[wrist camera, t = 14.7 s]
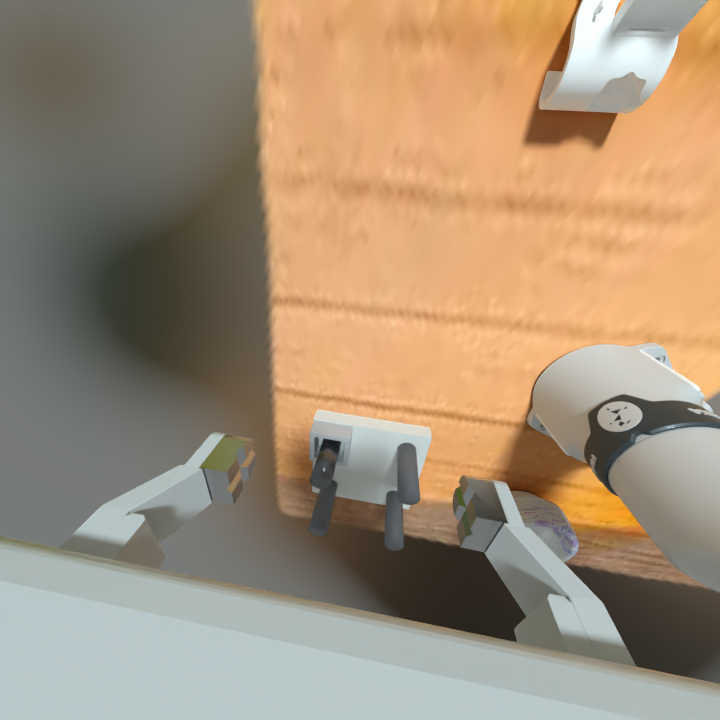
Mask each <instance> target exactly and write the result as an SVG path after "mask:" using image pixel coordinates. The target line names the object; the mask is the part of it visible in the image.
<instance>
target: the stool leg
mask: <svg viewBox="0 0 720 720" xmlns="http://www.w3.org/2000/svg"><path fill="white" fill-rule="evenodd" d="M341 442H342V441H336V440H330V439H324V438H323V441H322V444H321V447H320V450H319V453H318V456H317V459H316V462H315V465H314V468H313V471H312V474H311V477H310V483H311V484H312V485H313V486H314V487H316V488H318V489H327V488H329V487H330V486H331V483H332V479H333V475H334V471H335V467H336V462H337V458H338V454H339V450H340V446H341Z"/></svg>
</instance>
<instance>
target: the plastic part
mask: <svg viewBox="0 0 720 720" xmlns="http://www.w3.org/2000/svg"><path fill="white" fill-rule="evenodd" d="M707 1H708V0H626V1H625V2H624V4H623V5H622V7H621V8H620V10H619V11H618V13H617V14H616V16H615V17H614V15H615V11H616V9H617V6H618V4H619V2H620V0H582V1H581V4H580V6H579V8H578V10H577V13H576V15H575V18H574V21H573V24H572V28H571V37H570V46H569V52H568V56H567V59H566V62H565V65H564V68H563V71H547V74H546V77H545V81H544V84H543V87H542V91H541V94H540V98H539V109H541V110H563V111H585V112H607V113H630V112H633V111H634V110H636V109H637V108H639V107H640V106H641V105H642V104H643V103H644V102H645V101H646V100H647V99H648V98H649V96H650V95H651V94H652V93H653V91H654V90H655V89H656V87H657V86H658V84H659V83H660V81H661V79H662V78H663V76H664V74H665V72H666V70H667V69H668V66H669V64H670V62H671V60H672V58H673V55H674V53H675V50H676V47H677V43H678V35H679V33H680V32H681V31H682V30H683V28H684V27H685V26H686V25H687V24H688V23H689V22H690V20H691V19H692V18H693V17H694V16H695V15H696V14H697V13H698V11H699V10H700V9H701V8H702V7H703V6H704V5H705V3H706V2H707Z"/></svg>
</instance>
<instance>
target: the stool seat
mask: <svg viewBox="0 0 720 720" xmlns="http://www.w3.org/2000/svg"><path fill="white" fill-rule="evenodd" d="M323 438H324V439H330V440H336V441H342V442H341V446H340V450H339V454H338V458H337V462H336V467H335V471H334V475H333V479H332V483H331V486H330V487H329V488H327V489H318V488H316V487H314V486H313V485H312V492H315V493H319V494H318V498H317V501H316V505H315V508H314V512H313V516H312V519H311V523H310V526H309V531H310V533H312V534H313V535H316V536H325V535H326V534H327V531H328V526H329V522H330V518H331V513H332V509H333V504H334V500H335V496H337V497H343V498H348V499H354V500H359V501H365V502H370V503H376V504H381V505H386V515H385V540H384V541H385V542H384V545H385V547H386V548H388V549H390V550H394V551H397V550H401V549H403V546H404V545H403V544H404V543H403V509H409V508H410V505H413V504H416V503H418V502H419V500H420V492H419V477H420V473H421V470H422V467H423V464H424V461H425V458H426V455H427V452H428V449H429V445H430V442H431V439H432V436H431V429H430V428H429V427H423V426H417V425H411V424H405V423H398V422H392V421H386V420H380V419H374V418H368V417H361V416H355V415H349V414H343V413H337V412H331V411H324V410H317V412H316V415H315V417H314V423H313V426H312V428H311V431H310V461H313V468H314V465H315V462H316V459H317V456H318V453H319V450H320V447H321V444H322V441H323Z"/></svg>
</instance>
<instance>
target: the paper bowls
mask: <svg viewBox="0 0 720 720" xmlns="http://www.w3.org/2000/svg"><path fill="white" fill-rule="evenodd" d="M510 492H511V494H512V497H513V499H514V501H515V504H516V506H517V509H518V511H519V513H520V516H521V518H522V521H523V523H524V526H525V527H528V528H530V529H531V530H532V531H533V532H534V533H535V534H536V535H537V536H538V537H539V538H540V539H541V540H542V541H543V542H544V543H545V544H546V545H547V546H548V547H549V548H550V549H551V550H552V551H553V552H554V554H555V555H556V556H557V557H558V558H559V559H560V560H561V561H562V562H563V563H564V562H566V561H568V560H569V559H571V558H572V557H573V556H574V555H575V554H576V553H577V551H578V548H579V542H578V539H577V536H576V534H575V532H574V531H573V529H572V527H571V525H570V523H569V521H568V519H567V518H566V515H565V514H564V512H563V511H562V510H561V509H560V508H559V507H558V506H557V505H555V504H554V503H552V502H550V501H548V500H545V499H542V498H539V497H537V496H536V495H534V494H531V493H528V492H524V491H510Z"/></svg>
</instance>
